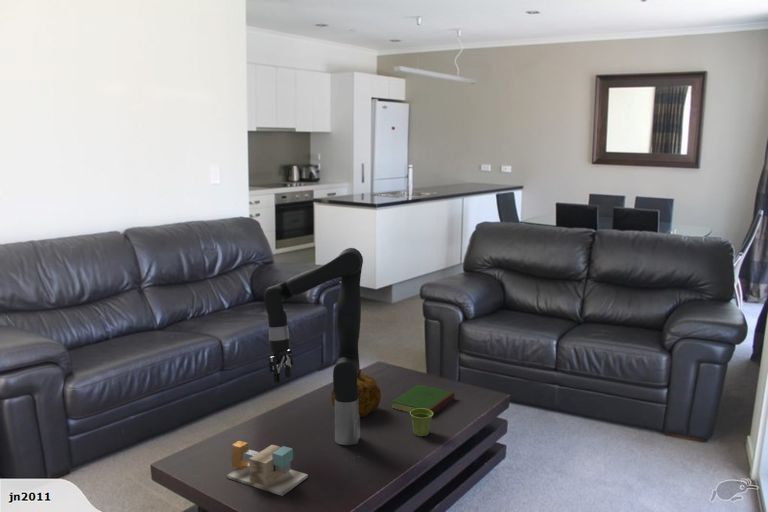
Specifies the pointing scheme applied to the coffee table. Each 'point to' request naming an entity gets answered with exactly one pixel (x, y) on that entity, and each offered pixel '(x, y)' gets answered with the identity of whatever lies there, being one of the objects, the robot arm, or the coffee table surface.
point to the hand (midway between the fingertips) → (282, 380)
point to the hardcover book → (423, 399)
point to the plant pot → (421, 421)
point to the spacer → (282, 456)
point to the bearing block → (263, 466)
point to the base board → (277, 486)
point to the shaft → (243, 454)
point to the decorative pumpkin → (365, 394)
